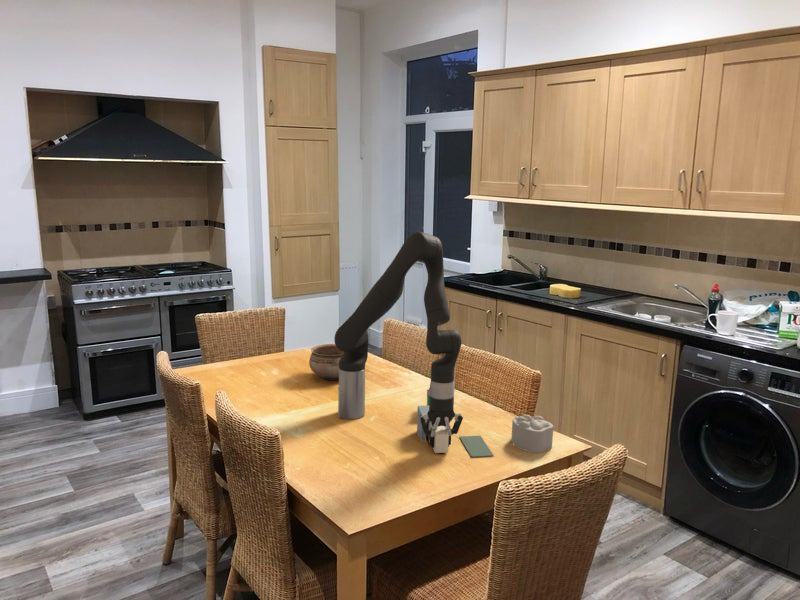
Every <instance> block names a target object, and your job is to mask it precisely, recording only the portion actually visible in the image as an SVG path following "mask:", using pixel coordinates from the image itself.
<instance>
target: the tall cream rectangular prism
mask: <svg viewBox="0 0 800 600" xmlns="http://www.w3.org/2000/svg"><path fill="white" fill-rule="evenodd" d="M430 427H431V420H428V430H430ZM434 437H435V441H434V448H432V449H433V451H434V453H435V454H440V453H441V454H442V453H443V454H444V453H445V454H446V453H449V447H448V441H449V434H448V432H447V430H446V428H445V427H444V426H438V427H437V430H436V432H435V435H434ZM427 439H428V440H429V435H427Z"/></svg>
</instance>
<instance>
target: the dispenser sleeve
mask: <svg viewBox="0 0 800 600" xmlns="http://www.w3.org/2000/svg"><path fill="white" fill-rule="evenodd" d="M428 411H429V405H427V404H426V405H417V412H416V413H417V417H416V418H417V421H416V422H417V423H416V432H417V435H418V436H419V439H420V441H421V442H427V435H425V433H424V431H423V428H422V425H421V422H420V419H419V416H420V415H422V416H423V415H426V414H427V413H428ZM428 420H430V419H429V418H428V419H427V422H426V426H427V429H428ZM444 427H445V426H444Z"/></svg>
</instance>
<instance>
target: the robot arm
mask: <svg viewBox="0 0 800 600" xmlns="http://www.w3.org/2000/svg"><path fill="white" fill-rule="evenodd" d="M417 262H419V263H423V264H424V265H425V269H426V273H427V282H426V287H425V290H424V295H423V300H424V301H423V305H424V309H425V314H426V315H425V316H426V321H427V322H426V323H427V327H426V338H425V345H426V349H427V351H428V352H429V353H430V354H432V355H443V354H444V355H443V356H442V357H441V358H439V359H436V360H434V361H433V362H432V363H431V367H430V385H429V388H430V390H429V389H428V390H429V393H430V396H429V411H428V413H427V414H426V415H423V416H422V415H420V416H419V419H420V422H421V425H422V428H423V431H424V433H425V435H426V436H428V435H429V439H428V444H429V446H430V447H431V448H432V449H433V448H434V441H435V437H434V435H435V432H436V430H437V427H438V426H445V428H446V430H447V432H448V434H449V441H448V448H449V447H450V446H451V444H452V435H453V436H454V435H457V434H458V432H459V430H460V428H461V425H462V422H463V419H464V417H463V415H462V414H461V413H456V412H455V411H454V409H455V408H454V407H455V406H454V405H455V367H456V363H457V362H458V361H457V360H458V357H459V355H460V351H461V348H462V337H461V335H460V332H459V331H458V330H455V329H446V330H444V329H443V330H439V326H442V325H445V324H447V323H449V321H450V320H451V315H450V309H449V305H448V299H447V295H446V287H445V275H444V273H445V271H444V269H445V268H444V250H443V243H442V242H441V239H439V237H437V236H434V235H432V234H430V233H425V232H422V231H415V232H412V233H411V234H410V235H409V236H408V237H407V238H406V239H405V241H404V242H403V244H402V246H401V247H400V249H399V251H398V252H397V254H396V255H395V257H394V258H393V260H392V261H391V262H390V264H389V266H388V267H387V268H386V269H385V271H384V272H383V274H381V276H380V277H379V279H378V280H377V281H376V282H375V283H374V285H373V286H372V287H371V288H370V290H369V291H368V292H367V294H366V295H365V297H364V298H363V299H362V301H361V302H360V303H359V305H358V306H357V308H356V309H355V310H354V312H353V313H352V314H350V316H349V317H348V319H346V320H345V321H344V322H343V324H341V325H340V326H339V328H338V329H336V332H335V334H334V344H335V345H336V347H337V348H338V349H339V350H341V351H344V354H343V356H342V357H341V359H340V360H339V379H338V387H337V388H338V391H337V392H338V393H337V394H338V396H337V397H338V399H337V400H338V402H337V403H338V404H337V405H338V406H337V409H338V411H337V412H338V418H339V419H345V420H356V419H360V418H363V417H364V416H365V415H366V414H365V413H366V408H365V407H366V363H367V361H368V354H369V333H368V329H369V328H370V327H372V325H373V324H375V323H376V322H377V321H379V320H380V319H381V318H382V317H384V316H385V315H386V314H387V313H388V312H389V311H390V310H391V309H392V308H393V307H394V306H395V304H396V303H397V302H398V301H399V299H400V298H401V296H402V294H403V292H404V286H405V279H406V276H407V273H408V272H409V271H410V269H411V268H412V267H413V266H414V265H415V264H416V263H417ZM428 418H429V419H430V420H431V427H430V430H428V429H427V426H426V422H427V419H428ZM453 419H454V423H453V426H452V428H451V424H450V423H451V422H452V421H453Z"/></svg>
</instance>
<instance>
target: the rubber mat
mask: <svg viewBox="0 0 800 600" xmlns="http://www.w3.org/2000/svg"><path fill="white" fill-rule="evenodd" d="M459 439H460V441H461V443H462V444H463V446H464V447H465V449H466V451H467V452H468V454H469V456H470V458H474V459H475V458H491V457H492V458H493V457H495V454H494V453H493V452H492V450H491V449H490V447H489V446H488V445H487V443H486V441H485V440H484V439H483V437H482V436H481V435H466V436H465V435H464V436H463V435H461V436H460V435H459Z"/></svg>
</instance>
